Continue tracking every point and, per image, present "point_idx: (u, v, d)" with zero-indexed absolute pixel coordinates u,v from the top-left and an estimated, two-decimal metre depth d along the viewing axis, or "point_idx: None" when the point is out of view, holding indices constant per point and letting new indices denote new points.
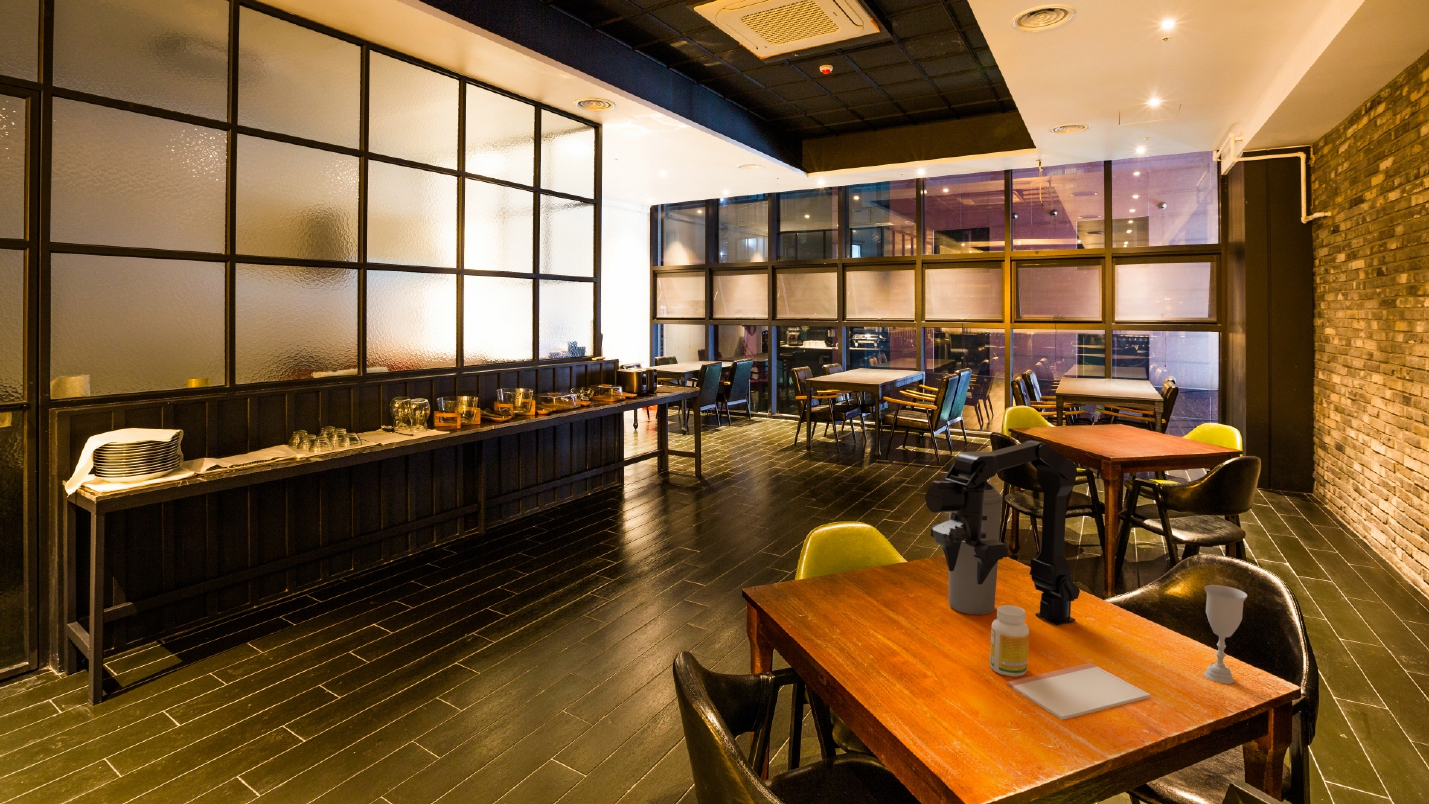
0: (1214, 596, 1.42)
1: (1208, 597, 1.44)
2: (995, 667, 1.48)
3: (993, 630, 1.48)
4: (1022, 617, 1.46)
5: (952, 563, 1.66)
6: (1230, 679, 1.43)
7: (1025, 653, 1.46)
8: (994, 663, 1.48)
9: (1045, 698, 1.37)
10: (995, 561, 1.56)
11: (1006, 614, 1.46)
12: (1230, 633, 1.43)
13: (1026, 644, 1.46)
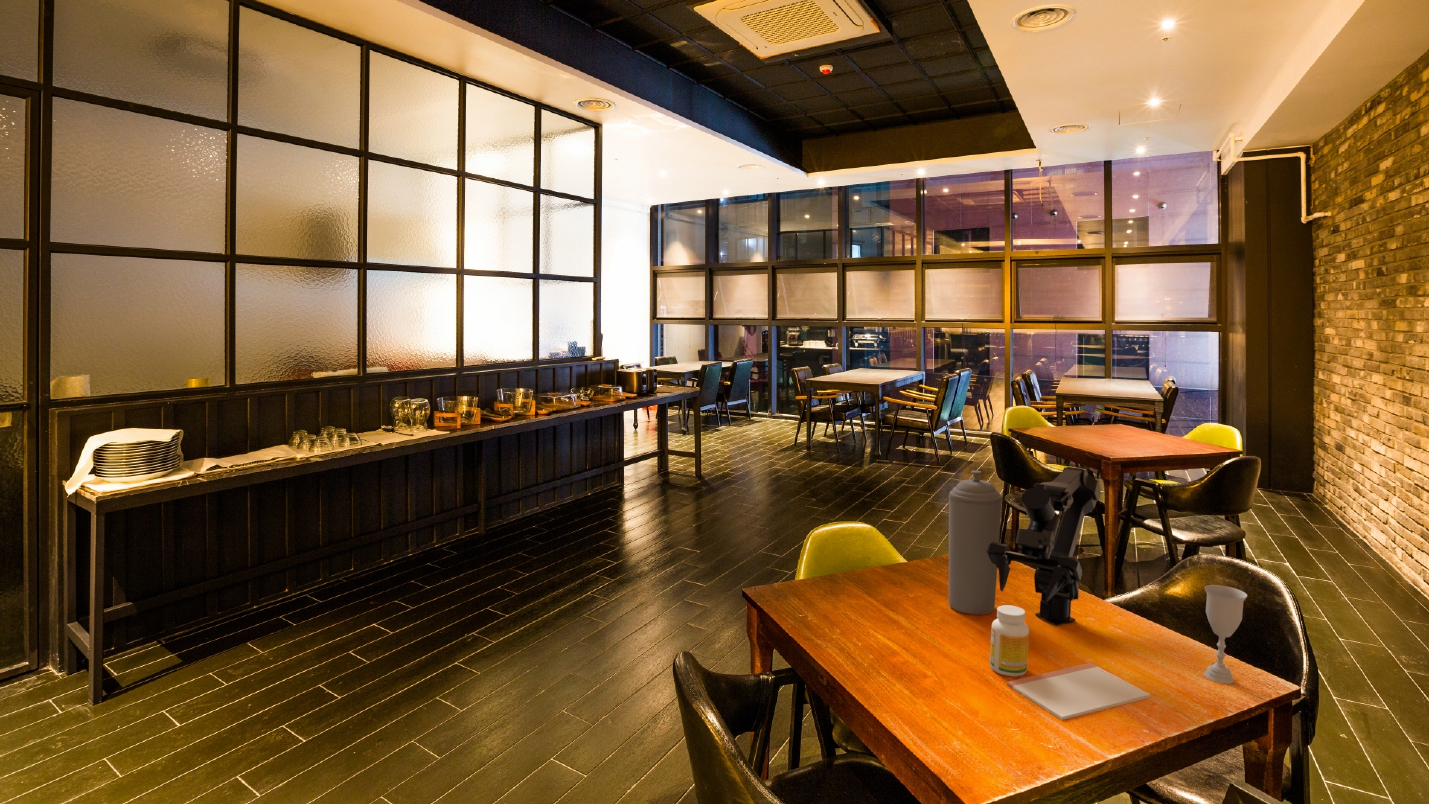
0: (1214, 596, 1.42)
1: (1208, 597, 1.44)
2: (995, 667, 1.48)
3: (993, 630, 1.48)
4: (1022, 618, 1.46)
5: (1004, 583, 1.58)
6: (1230, 679, 1.43)
7: (1025, 653, 1.46)
8: (994, 663, 1.48)
9: (1045, 698, 1.37)
10: (1063, 584, 1.53)
11: (1006, 614, 1.46)
12: (1230, 633, 1.43)
13: (1026, 644, 1.46)
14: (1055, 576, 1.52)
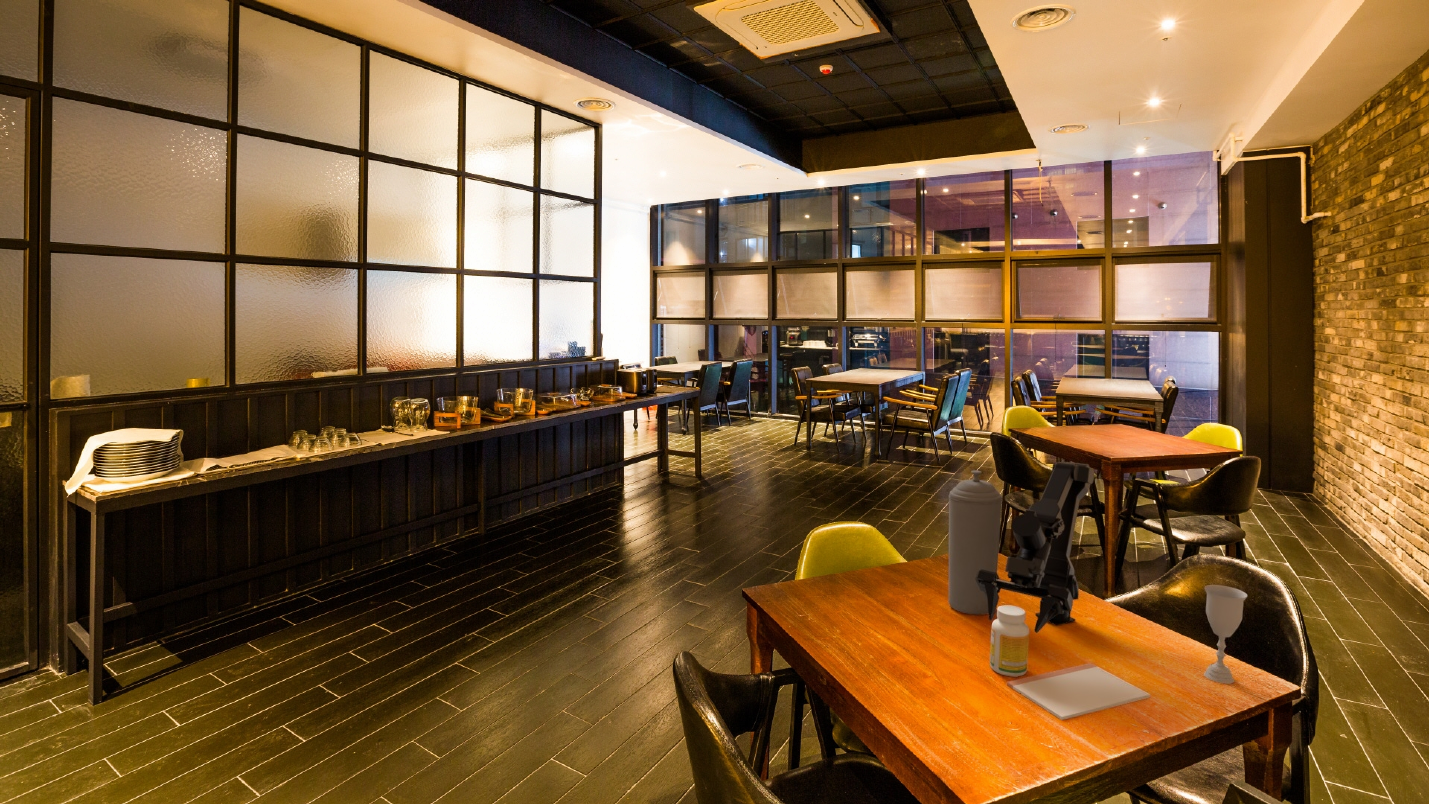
0: (1214, 596, 1.42)
1: (1208, 597, 1.44)
2: (995, 667, 1.48)
3: (993, 630, 1.48)
4: (1022, 618, 1.46)
5: (993, 612, 1.53)
6: (1230, 679, 1.43)
7: (1025, 653, 1.46)
8: (994, 663, 1.48)
9: (1045, 698, 1.37)
10: (1053, 614, 1.49)
11: (1006, 614, 1.46)
12: (1230, 633, 1.43)
13: (1026, 644, 1.46)
14: (1045, 606, 1.47)
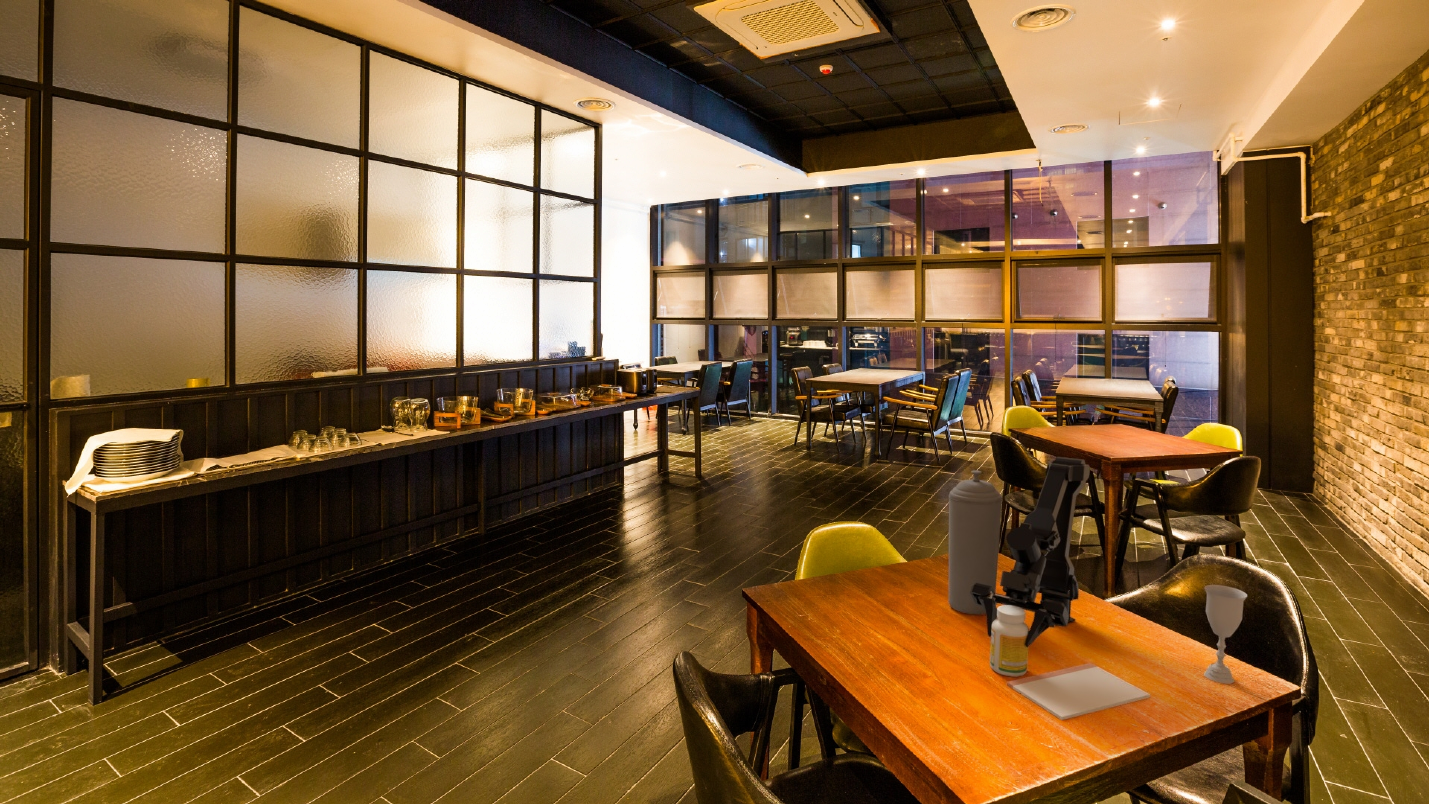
0: (1214, 596, 1.42)
1: (1208, 597, 1.44)
2: (995, 667, 1.48)
3: (993, 630, 1.48)
4: (1022, 617, 1.46)
5: None
6: (1230, 679, 1.43)
7: (1025, 653, 1.46)
8: (994, 663, 1.48)
9: (1045, 698, 1.37)
10: (1045, 628, 1.48)
11: (1006, 614, 1.46)
12: (1230, 633, 1.43)
13: None
14: (1036, 620, 1.46)
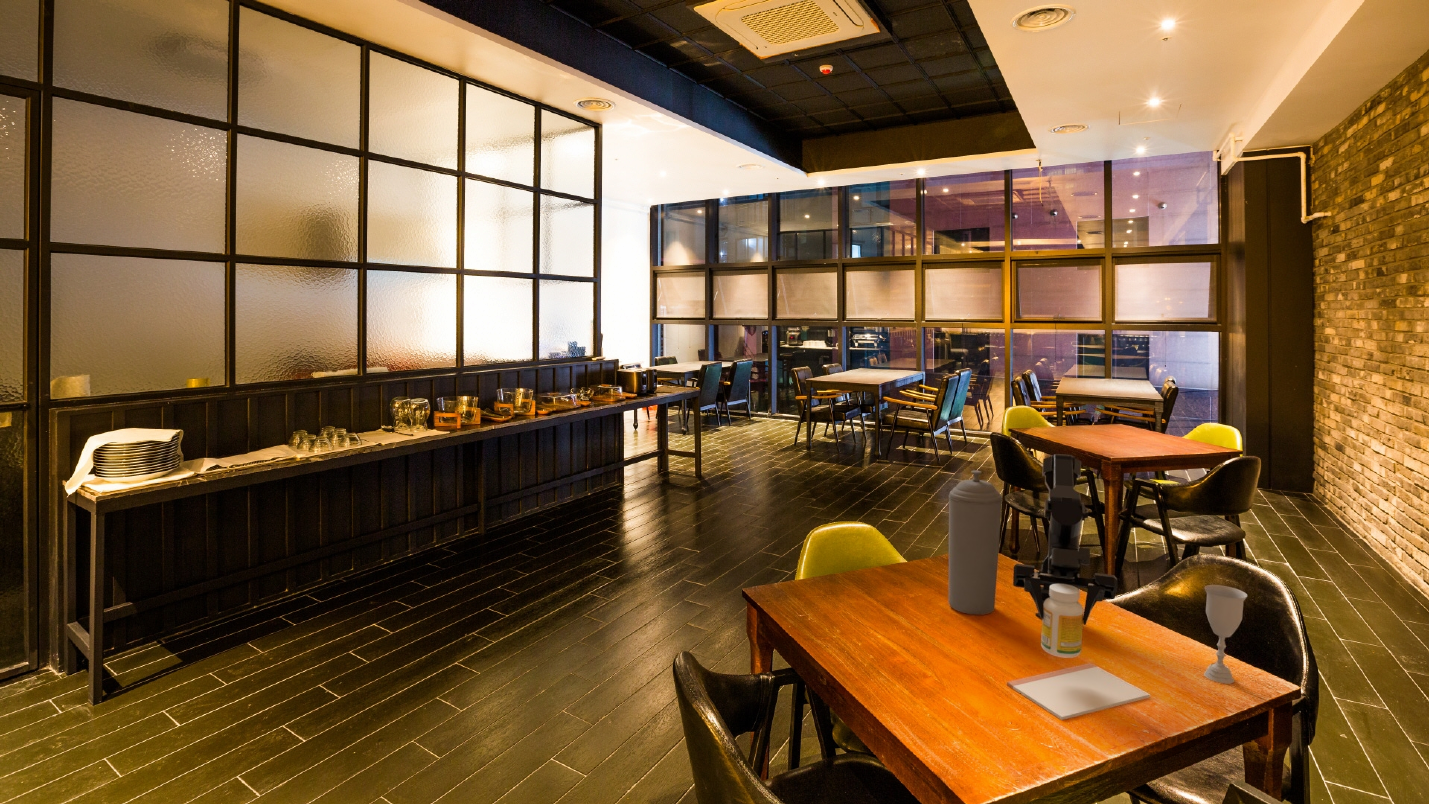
0: (1214, 596, 1.42)
1: (1208, 597, 1.44)
2: (1053, 649, 1.41)
3: (1049, 611, 1.41)
4: (1078, 595, 1.40)
5: (1042, 609, 1.44)
6: (1230, 679, 1.43)
7: None
8: (1050, 646, 1.41)
9: (1045, 698, 1.37)
10: (1094, 603, 1.43)
11: (1064, 593, 1.39)
12: (1230, 633, 1.43)
13: (1082, 622, 1.40)
14: (1090, 596, 1.41)
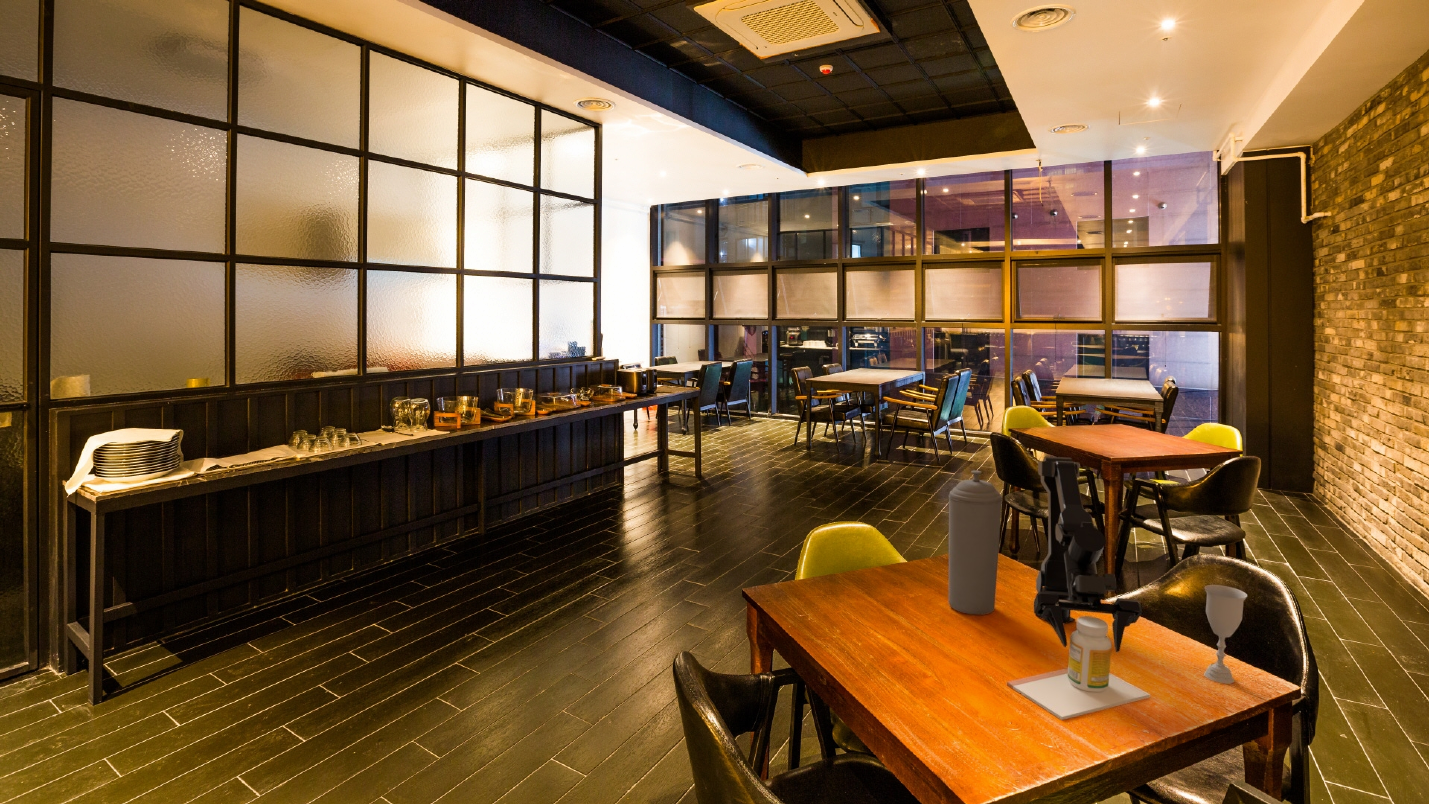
0: (1214, 596, 1.42)
1: (1208, 597, 1.44)
2: (1083, 684, 1.39)
3: (1079, 646, 1.39)
4: (1107, 628, 1.39)
5: None
6: (1230, 679, 1.43)
7: None
8: (1080, 681, 1.39)
9: (1045, 698, 1.37)
10: None
11: (1094, 627, 1.38)
12: (1230, 633, 1.43)
13: (1110, 655, 1.40)
14: (1121, 622, 1.40)
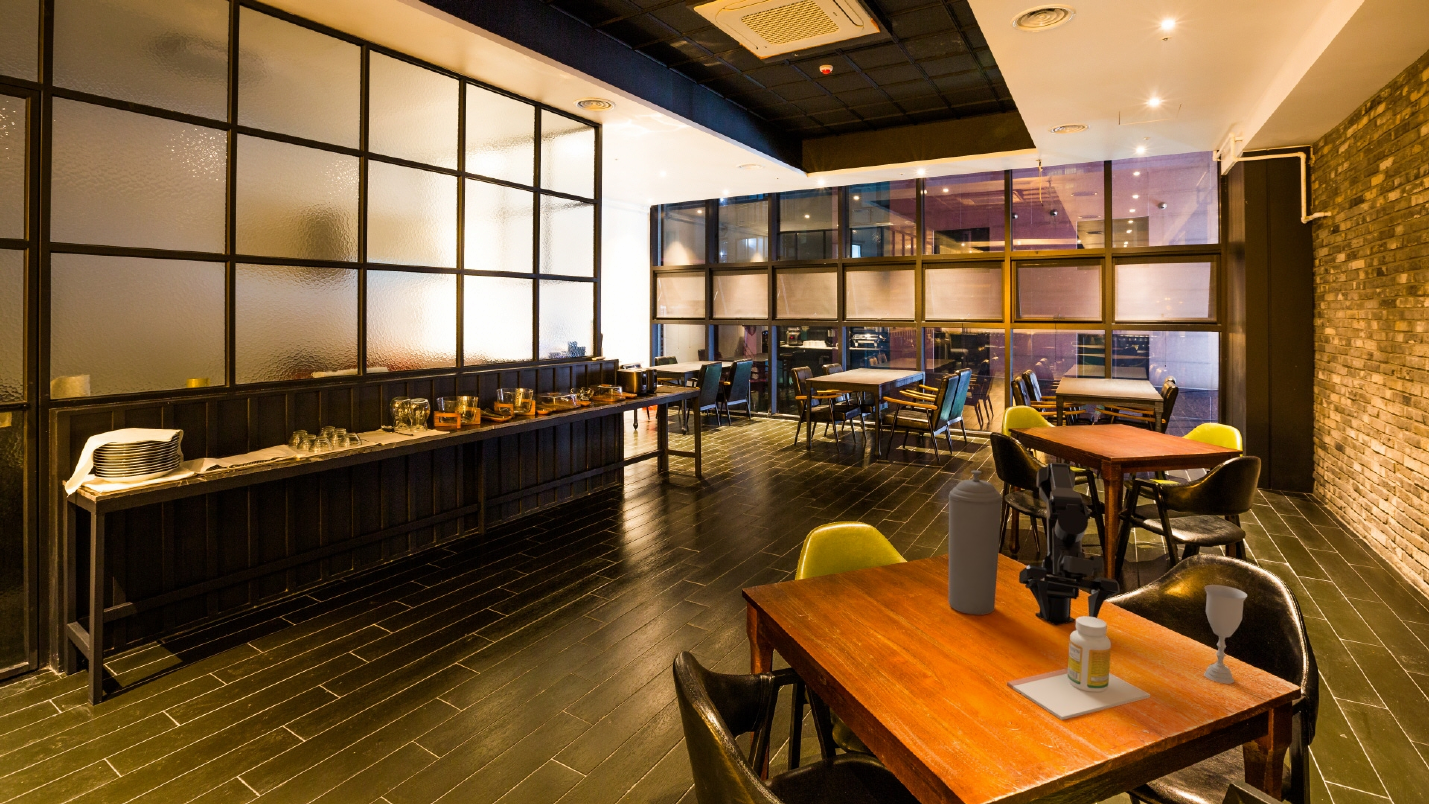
0: (1214, 596, 1.42)
1: (1208, 597, 1.44)
2: (1083, 684, 1.39)
3: (1078, 646, 1.39)
4: (1106, 628, 1.39)
5: None
6: (1230, 679, 1.43)
7: (1109, 664, 1.40)
8: (1080, 681, 1.39)
9: (1045, 698, 1.37)
10: None
11: (1093, 627, 1.38)
12: (1230, 633, 1.43)
13: None
14: (1099, 600, 1.51)
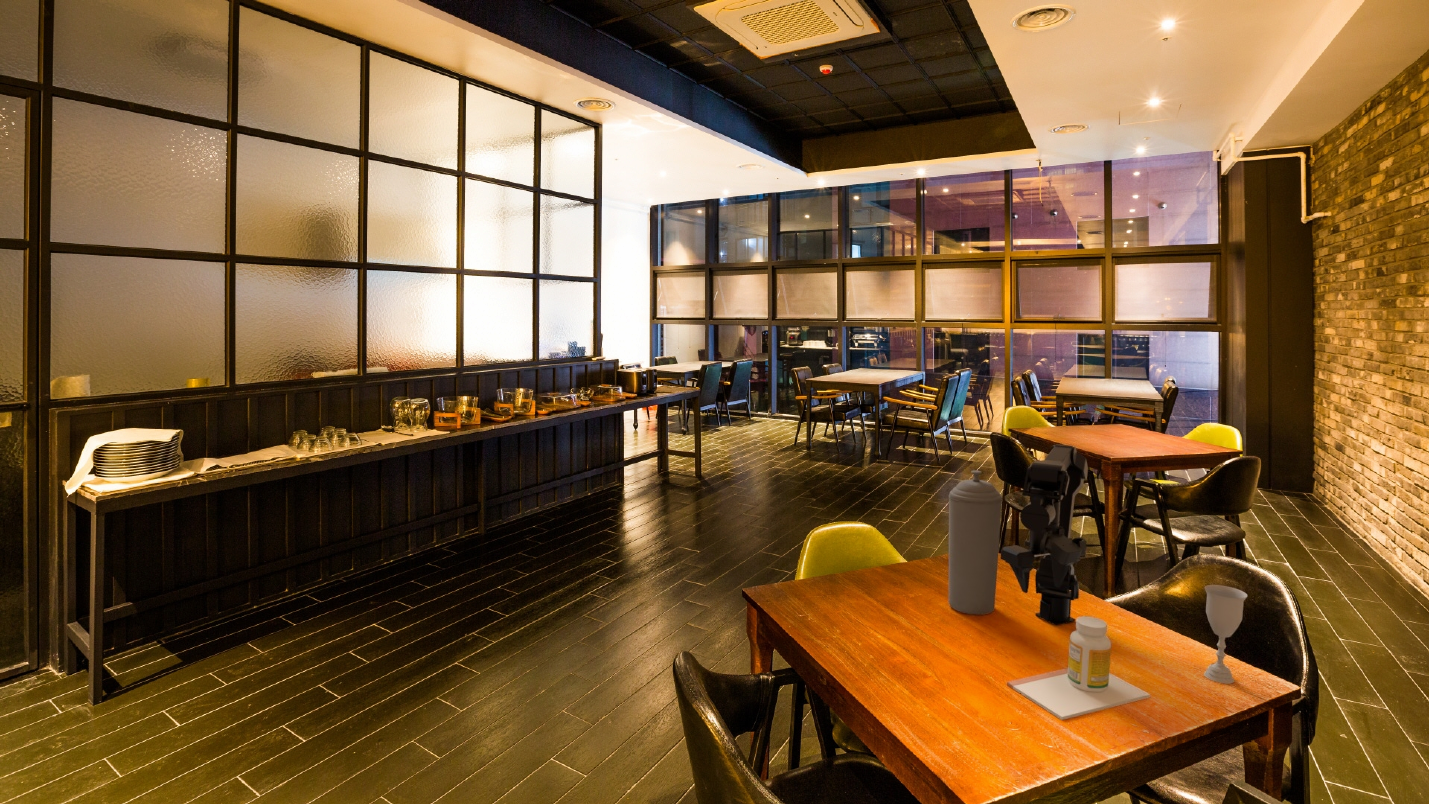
0: (1214, 596, 1.42)
1: (1208, 597, 1.44)
2: (1083, 685, 1.39)
3: (1078, 646, 1.39)
4: (1106, 628, 1.39)
5: None
6: (1230, 679, 1.43)
7: (1109, 664, 1.40)
8: (1080, 681, 1.39)
9: (1045, 698, 1.37)
10: None
11: (1094, 627, 1.38)
12: (1230, 633, 1.43)
13: None
14: (1067, 565, 1.58)
